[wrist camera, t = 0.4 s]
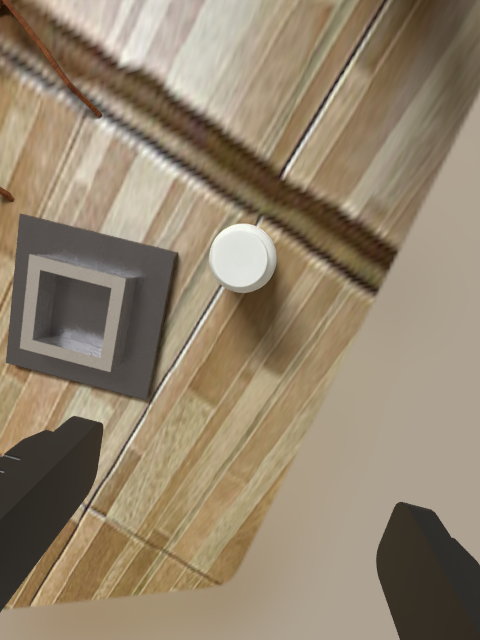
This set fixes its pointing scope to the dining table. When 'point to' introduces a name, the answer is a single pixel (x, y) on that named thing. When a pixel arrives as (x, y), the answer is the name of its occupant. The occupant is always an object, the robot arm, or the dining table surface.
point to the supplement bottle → (242, 258)
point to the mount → (88, 306)
